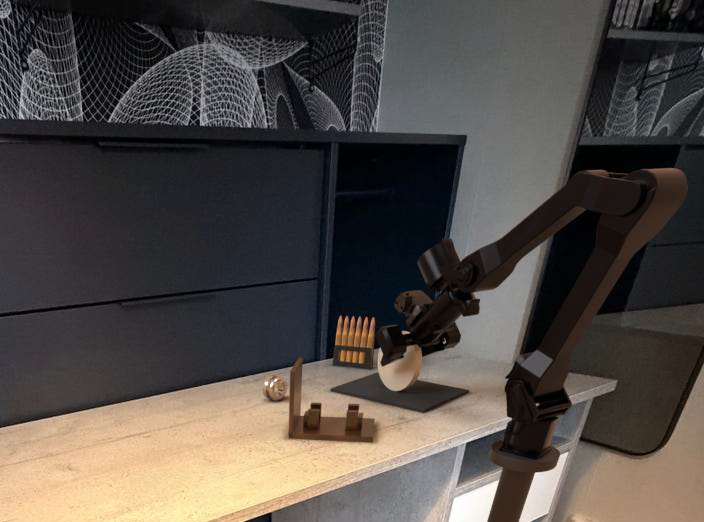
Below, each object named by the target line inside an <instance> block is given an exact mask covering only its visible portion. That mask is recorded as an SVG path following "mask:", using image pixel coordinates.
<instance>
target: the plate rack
mask: <svg viewBox="0 0 704 522" xmlns="http://www.w3.org/2000/svg"><path fill="white" fill-rule="evenodd" d="M303 362H304V361H303V357H298V358H297V360H296V361H295V363H294V364H293V365H292V368H291V369H290V371H289V396H288V397H289V400H288V401H289V402H288V405H289V406H288V436H287V437H288V439H294V440H296V439H297V440H298V439H299V440H315V441H317V440H318V441H319V440H320V441H337V442H338V441H339V442H357V443H359V442H360V443H373V440H374V431H375V419H376V418H371V417H370V418H369V417H364V412H360V403H348V404H347V410H346V416H345V417H344V416H343V417H341V416H322V406H323V405H322V404H323V403H322V402H310V406H309V408H308V409H307V410H305V412H304V414H303V415H301V413H302V411H301V410H302V389H303V387H302V386H303V384H302V383H303Z"/></svg>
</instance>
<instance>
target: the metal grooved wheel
mask: <svg viewBox="0 0 704 522" xmlns="http://www.w3.org/2000/svg"><path fill="white" fill-rule="evenodd" d="M287 392H288V383H287V381H286V379H285V378H284V377H282V376H278V375H274V374H273V375H269V376H268V377H266V379H265V380H264V382H263V385H262V393H263V395H264V397H265V399H269V400H272V401H275V402H278V401H281V400H283V399H284V397H285V396H286V394H287Z"/></svg>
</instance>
